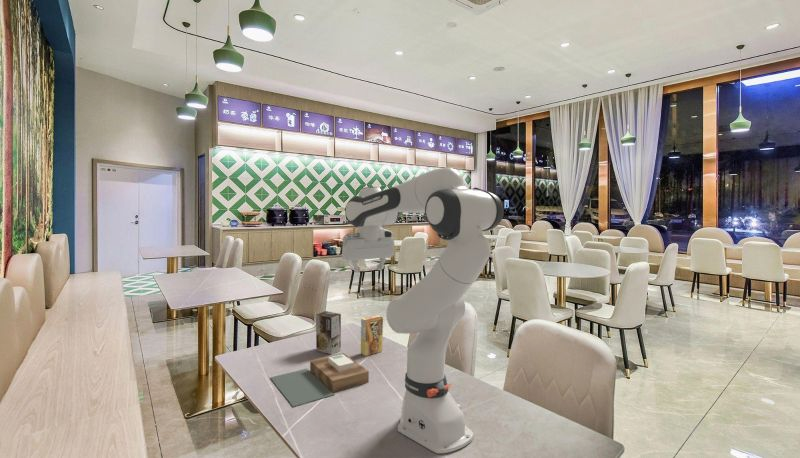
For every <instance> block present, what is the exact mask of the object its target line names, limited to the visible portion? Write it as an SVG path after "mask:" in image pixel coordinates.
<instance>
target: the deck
mask: <svg viewBox="0 0 800 458" xmlns="http://www.w3.org/2000/svg"><path fill="white" fill-rule="evenodd" d="M342 354H343V355H345V356H346V357H347V358H349V359H350V360H352V361H353V362H354V368H351V369H347V370H343V371H338V370H337V369H335V368H334V367H333V366H332V365H331V364H329V363H328V358H329V357H333V356H337V355H342ZM309 363H310V364H309V367H310V368H309V371H310V372H311V373H312V374H313V375H314V376H315V377H316V378H317V379H318V380H320V381H321V382H322V383H323V384H324V385H325V386H326V387H327V388H328V389H329V390H330V391H331V392H332V393H336V392H339V391H342V390H346V389H348V388H353V387H355V386H359V385H362V384H367V383H369V382H370V381H369V375H370V373H369V372H370V371H369V370H368V369H366V368H365V367H363V365H361V364H360V363H358V362H357V361H356V360H354V359H352V358H351V357H350V356H348V355H347V354H346V353H344V352H342V353H338V354H332V355H329V356H324V357H321V358H320V357H319V358H317V359H312V360H310V362H309Z"/></svg>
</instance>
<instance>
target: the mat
mask: <svg viewBox="0 0 800 458" xmlns="http://www.w3.org/2000/svg"><path fill="white" fill-rule="evenodd" d="M269 379H270V380H271V381H272V382H273V384H274V385H275V386H276V387H277V389H278V390H279V391H280V393H281V394H282V395H283V397H285V400H287V402H288V403H289V404H290V405H291V406H292V407H293V408H296V407H298V406H302V405H305V404H308V403H312V402H316V401H320V400H323V399H326V398H329V397H333V396H335V394H334V392H332V391H331V390H330V389H329V388H328V387H327V386H326V385H325V384H324V383H322V382H321V381H320V380H319V379H318V378H317V377H316V376H315V375H314V374H313V373H312V372H311V371H310V369H308V368H304V369H300V370H296V371H295V370H294V371H291V372H286V373H283V374H279V375H275V376H271V377H270V378H269Z"/></svg>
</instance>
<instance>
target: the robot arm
mask: <svg viewBox="0 0 800 458" xmlns="http://www.w3.org/2000/svg"><path fill="white" fill-rule="evenodd" d="M464 181H465V180H464V178H463V176H462V174H461V173H460V172H459V171H457V169H455V168H452V167H441V168H437V169H432V170H430V171H426V172H424V173H421V174H420V175H418V176H416V177H413V178H411V179H409V180H407V181H405V182H403V183H399V184H396V185H394V186H392V187H389V188H387V189H386V188H385V189H384V190H382V189H381V187H377V186H366V187H363V188H361V189H360V190H359V192H358V195H354V196H352V197H351V198H350V199H349V201H348V202H347V203H346V205H345V209H344V212H345V218H346V220H347V221H348V222H349V223H350V224H351V225H352V226H353V227H355V228H356V232H354V233H346V234H345V235H344V236H343V238H342V251H341V258H342V260H345V261H348V262H349V261H350V262H351V264H352V266H353V271H354V273H360V272H361V267H360V266H358V260H359V261H361V260H368V259H369V260H373V259H379V260H380V261H379V262H378V264H376V270H377V271H382V270H384V269H383V268H384V267H383V266H384V264H385V263H386V258H393V257H394V256H395V252H396V251H395V240H394V232H393V231H391V230H389V229H385V228H383V227H382V226H390V225H395V223H397V221H398V219H399V217H400V213H408V214H409V213H410V214H424V216H425V219H426V220H427V222H428V224H429V226H430V227H431V229H432V230H433V231H434V232H435V233H436V235H437V236H438V237H439V238H440V239H442V240H444V241H448V242H447V245H446V247H445V249H444V250H443V251H442V253H441V254H440V256H439V258H438V259H437V260H436V262H435V263H434V264H433V266H432V267H431V268H430V270H429V271H428V272H427V274H426V275H425V276H424V277H422V278H421V279H420V280H419V281H418V282H417V283H415V284H414V285H413V286H412V287H410V288H409V289H408V290H407V291H405V292H404V293H402V294H401V295H399V296H397V297H395V298H393V299H391V300H390V301H389V302H388V305H387V307H386V316H385V317H386V321H387V323H388V326H389V327H390V328H391V330H392V331H394V333H396V334H403V335H404V334H405V335H407V334H409V335H410V334H411V335H413V334H417V336H416V337H415V339H414V340H412V342H411V343H410V344H409V345H408V348H407V351H406V373H405V375H404V376H405V377H404V388H405V392H404V396H403V399H402V405H401V406H402V407H401V413H400V414H401V415H400V419H399V421H400V422H399V423H398V425H397V432H398V433H401V434H402V435H404V436H406V437H407V438H409V439H410V440H412V441H414V442H416V443H418V444H419V445H421V446H422V447H424V448H425V449H428V450H430V451H431V452H434V453H435V454H447V453H451V452H455V451H457V450H460V449H462V448H464V447H466V446H467V445H469V444H470V443H471V442H472V441H473V440H474V437H475V435H474V432H473V431H472V430H471V429H470V428H469V427H468V426H467V425H466V420H465V415H464V413H463V411H462V406H461V404H459V403H457V402H456V401H455V399H454V397H452V394H451V393H450V392H449V389H450V388H451V385H452V384H451V383H449V384H448V382H447V381H448V380H447V377H446V373H445V371H446V370H445V368H446V367H445V366H446V353H447V347H448V344H449V340H450V338H451V336H452V333H453V331H454V330H455V328H456V327H457V324H458V323H459V322H460V321H461V320H462V319H463V317H464V316H465V312H466V304H465V300H464V298H463V297H464V295H465V294H466V293H467V292H468V291H469V289H470V288H471V286H473V284H474V282H475V281H476V280H477V279H478V277H479V276H480V275H481V273H482V271H483V270H484V268H485V267H486V264H487V263H488V261H489V259H490V257H491V253H492V246H491V244H490V241H489V240H488V239H487V237H486V236H485V235H483V232H486V231H489V230H493V229H494V228H496V227H498V226H499V225H500V223H501V222H502V220H503V219H504V214H505V213H504V211H505V210H504V209H505V208H504V204H503V202H502V200H501V199H500V198H499V196H498V195H496V194H494V193H492V192H490V191H487V190H484V189H481V188H480V187H476V186H475V187H474V188H468V187H467V186H466V185H465V182H464Z"/></svg>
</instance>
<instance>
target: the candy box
mask: <svg viewBox="0 0 800 458" xmlns="http://www.w3.org/2000/svg"><path fill="white" fill-rule="evenodd" d="M383 320H384V317H383V316H380V315H379V314H377V315H376V314H375V315H372V316H367V317H362V318H360V353H361V355H363V356H365V357H366V356H370V355H374V354H377V353H381V352H382V353H383V335H384V334H383V333H384V331H383V330H384V329H383V328H384V326H383V325H384V321H383Z"/></svg>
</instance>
